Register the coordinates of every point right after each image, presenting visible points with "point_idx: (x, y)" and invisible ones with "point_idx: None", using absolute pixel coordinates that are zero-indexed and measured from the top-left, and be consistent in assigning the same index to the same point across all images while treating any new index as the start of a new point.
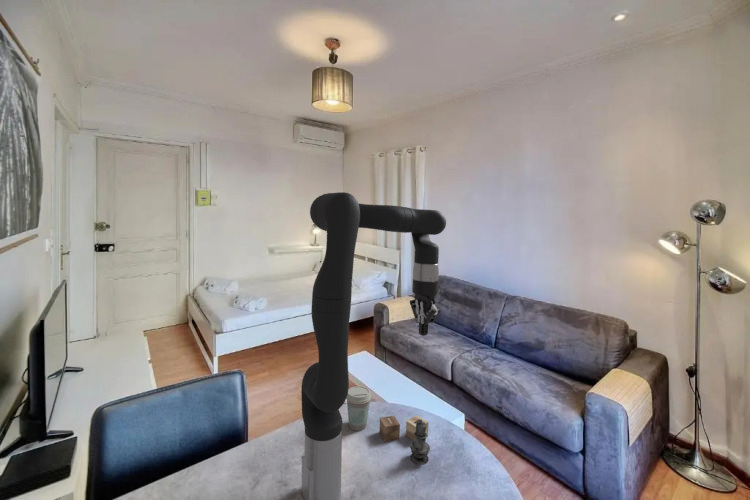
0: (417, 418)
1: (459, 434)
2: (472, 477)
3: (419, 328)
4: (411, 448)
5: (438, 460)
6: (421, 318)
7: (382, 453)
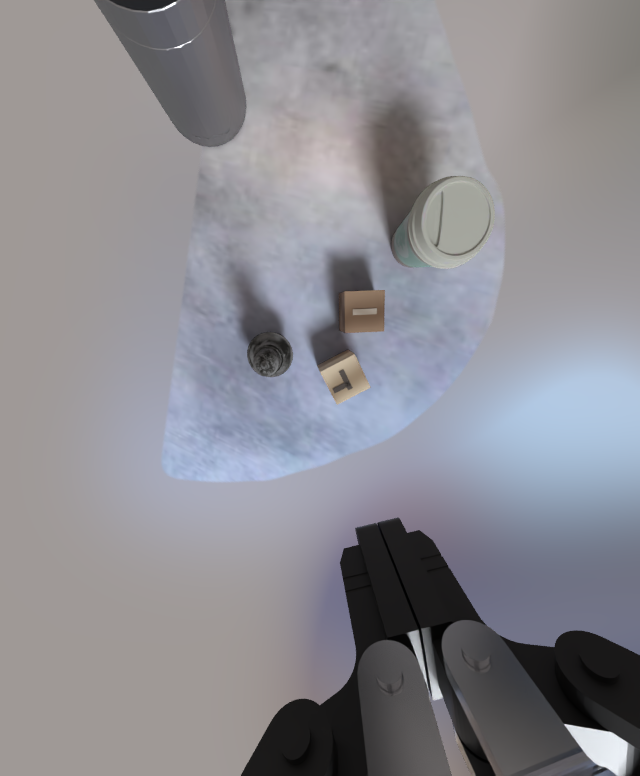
0: (357, 384)
1: (323, 460)
2: (204, 428)
3: (408, 559)
4: (267, 333)
5: (258, 386)
6: (428, 734)
7: (302, 276)
